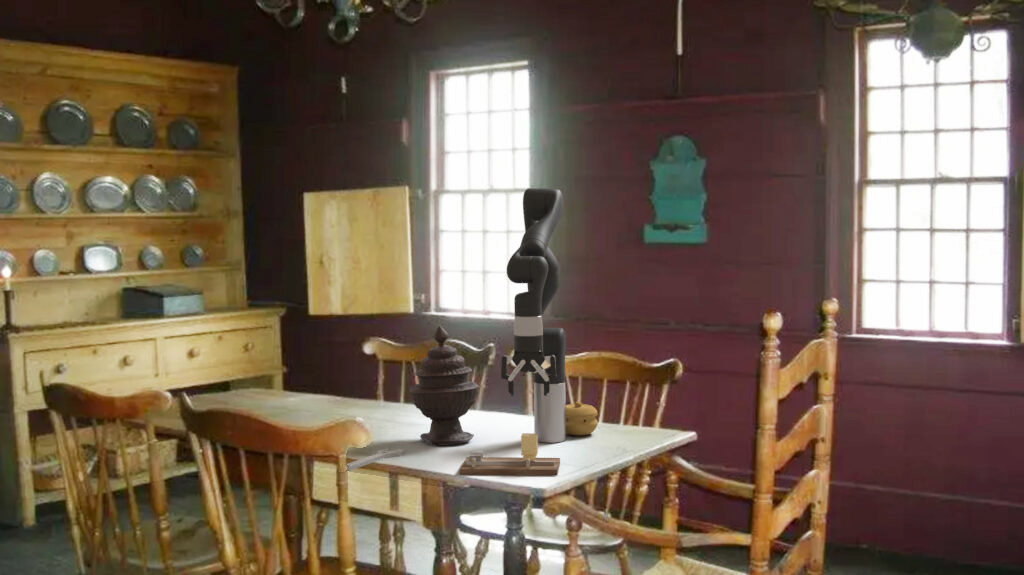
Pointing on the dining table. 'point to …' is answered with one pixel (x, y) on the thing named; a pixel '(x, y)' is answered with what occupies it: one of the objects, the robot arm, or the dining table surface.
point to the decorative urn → (444, 393)
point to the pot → (580, 419)
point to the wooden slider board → (508, 465)
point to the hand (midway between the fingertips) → (529, 395)
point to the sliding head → (529, 446)
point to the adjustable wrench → (374, 458)
